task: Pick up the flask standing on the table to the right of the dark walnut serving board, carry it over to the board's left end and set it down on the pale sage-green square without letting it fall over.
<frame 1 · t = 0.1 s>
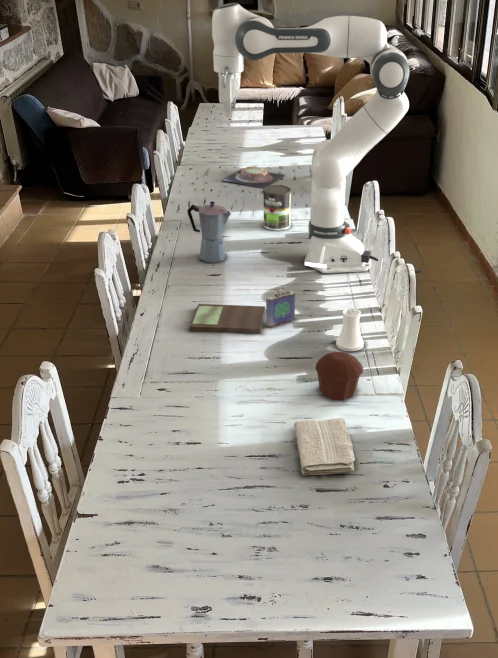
hand: (230, 113, 222), 48 cm above the table, tool pointing down, fingers open, 8 cm apart
board: (228, 320, 211), on the table
washcloth: (323, 450, 161), on the table
moka pot: (211, 258, 248), on the table
quiche: (253, 178, 322), on the table
coffee can: (277, 226, 274), on the table
white salt shaker: (349, 345, 200), on the table
flask: (280, 323, 210), on the table
muffin: (338, 391, 181), on the table
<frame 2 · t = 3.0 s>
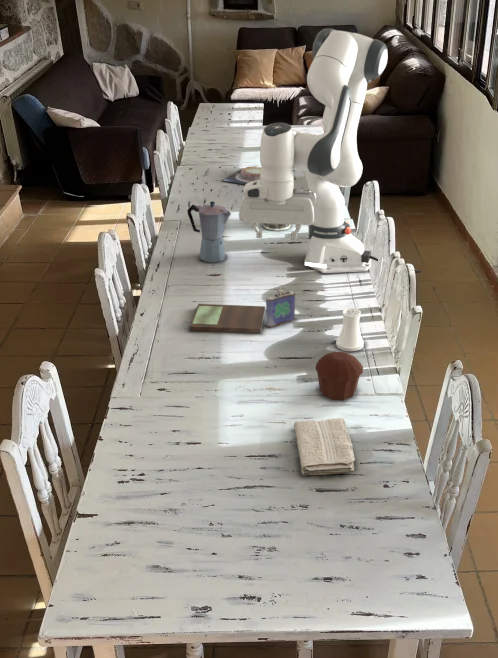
hand: (276, 238, 199), 25 cm above the table, tool pointing down, fingers open, 8 cm apart
nothing on the table moved.
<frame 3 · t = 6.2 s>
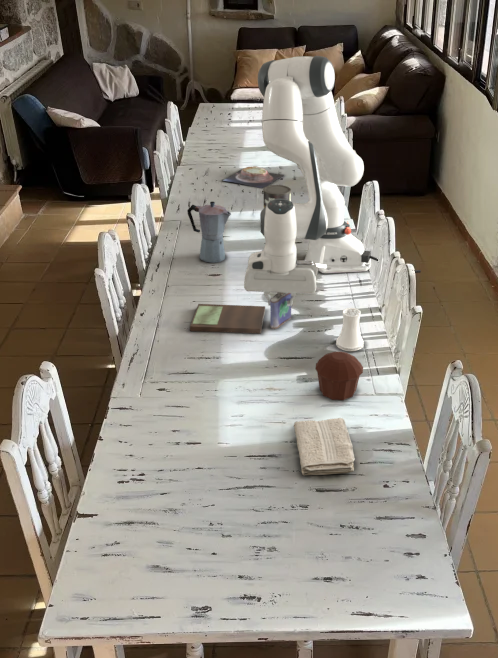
hand: (280, 305, 207), 6 cm above the table, tool pointing down, fingers closed on flask, 4 cm apart
flask: (280, 323, 210), on the table, touching gripper
everything else where it was.
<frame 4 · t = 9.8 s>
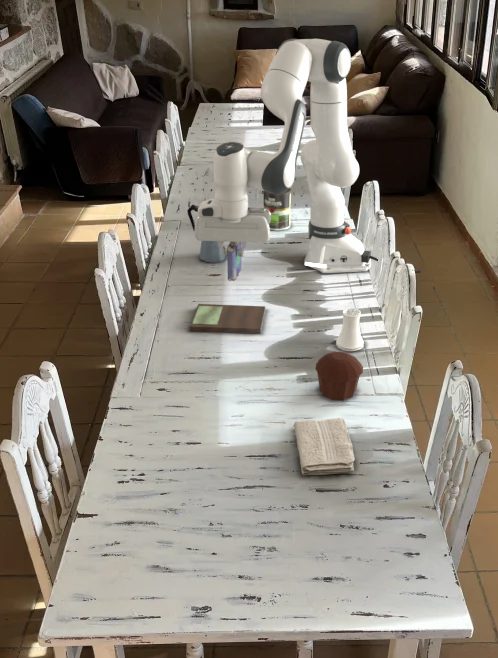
hand: (233, 255, 199), 20 cm above the table, tool pointing down, fingers closed on flask, 3 cm apart
flask: (234, 275, 203), point 14 cm above the table, touching gripper
everything else where it was.
when the fingers open (7 cm above the table, at t = 13.8 s): flask stays where it is, resting on board.
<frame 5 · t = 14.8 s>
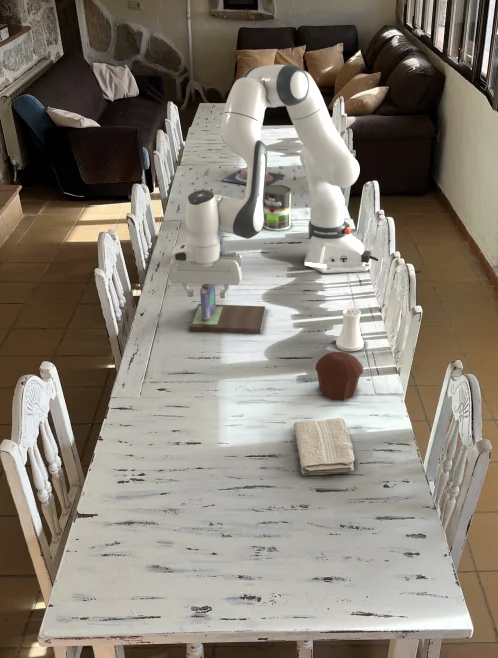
hand: (206, 296, 207), 7 cm above the table, tool pointing down, fingers open, 8 cm apart
flask: (208, 314, 211), point 1 cm above the table, touching board
everything else where it was.
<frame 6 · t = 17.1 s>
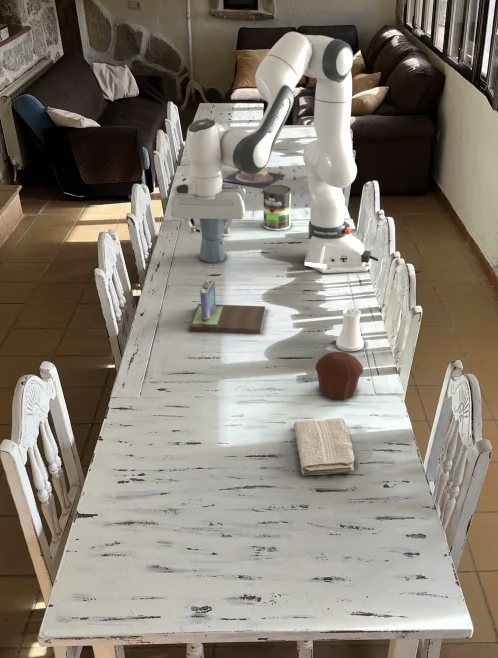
hand: (209, 232, 202), 25 cm above the table, tool pointing down, fingers open, 8 cm apart
nothing on the table moved.
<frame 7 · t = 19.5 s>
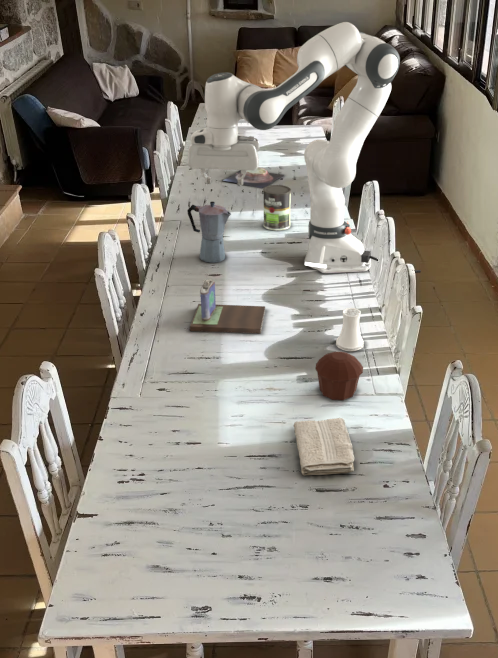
hand: (224, 184, 211), 33 cm above the table, tool pointing down, fingers open, 8 cm apart
nothing on the table moved.
at the end: flask inside the target area on the board (0.7 cm from its centre), point 1.4 cm above the board's base; flask tilted 0°; the gripper is holding nothing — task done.
